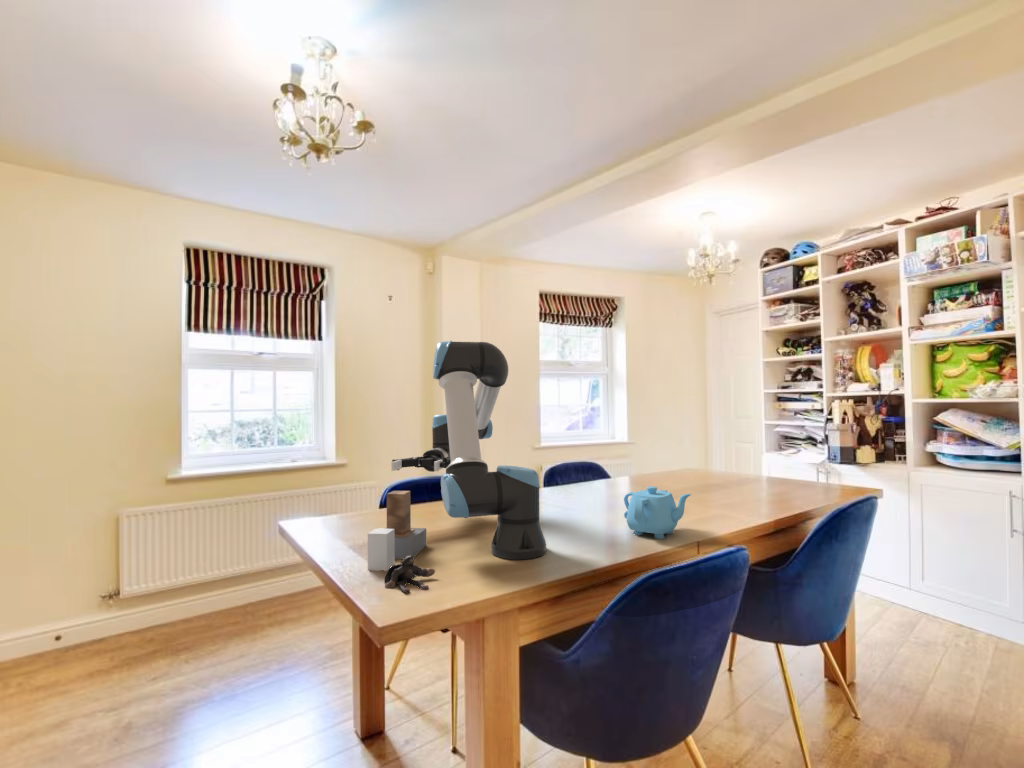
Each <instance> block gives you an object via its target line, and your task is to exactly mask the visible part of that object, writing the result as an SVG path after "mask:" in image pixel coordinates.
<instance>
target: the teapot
mask: <svg viewBox="0 0 1024 768" xmlns="http://www.w3.org/2000/svg"><path fill="white" fill-rule="evenodd" d="M691 495H693V493H686V494H685V493H684V494H682V495H680V497H679V498H678V503H677V505H676V502H675V498H674V496H673V493H671V492H670V491H668V490H664V489H660V490H658V486H651V485H650V486H647V487H646V489H642V490H638V491H635V492H634V491H631V492H628V493H626V494H625V495H624V496H623V502H624V505H625V508H626V510H625V512H624V515H623V516H624V518H625V519H626V523H627V526H628V528H629V529H630V530H632V531H633V533H632V535H633V534H635V535H634V536H642V535H643V534H644V533H648V534H649V533H650V534H654V539H657V540H663V539H665V535H664V534H667V535H670V534H674V533H673V531H674V530H675V529H676V527H677V526H678V523H679V521H680V520H681V519H682V518H683V516H684V513H685V505H686V500H687V499H688V497H690V496H691ZM630 496H631V497H630ZM629 497H630V500H629Z"/></svg>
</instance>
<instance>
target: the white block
mask: <svg viewBox="0 0 1024 768" xmlns="http://www.w3.org/2000/svg"><path fill="white" fill-rule="evenodd" d="M395 559H396V558H395V529H385V528H384V527H383V528H381V527H379V528H377V527H376V528H374V529H373V530H371V531H369V532H367V570H368V571H380V570H384V572H386V571H387V572H388V570H389V568H390V567H391V566H393V565H396V564H395V562H396V561H395Z"/></svg>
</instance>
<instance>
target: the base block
mask: <svg viewBox="0 0 1024 768" xmlns="http://www.w3.org/2000/svg"><path fill="white" fill-rule="evenodd" d="M384 529H387V526H386V527H384ZM425 546H426V547H427V528H426V527H411V530H410V531H409V532H407V533H406V534H404V535H397V534H395V559H402V558H405V557H406V556H413V557H416V554H417V555H418V554H419V553H420V552H421V551H422V550H423V549H424V548H426V547H425Z"/></svg>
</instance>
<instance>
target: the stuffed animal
mask: <svg viewBox="0 0 1024 768" xmlns="http://www.w3.org/2000/svg"><path fill="white" fill-rule="evenodd" d="M414 557H415V556H414ZM414 557H413V556H406V557H405V558H404V559H403V560H402V561H401V563H398V564H394V565H393V566H392V567H391V568H389V569H388V570H387V572H386V574H385V575H384V584H385V583H386V584H385V586H384V588H385V589H394V588H395V587H398V588H399V589H398V590H399V591H401V593H405V594H408V593H410V591H411V589H410V588H408V587H407V586H406V585H407V584H408V583H410V584H409V585H411V584H413V585H412V586H415V585H416V587H417V586H418V587H419V588H418V587H417V588H418V589H420V588H422V589H421V590H428V589H429V585H428V584H426V585H425V584H424V583H423V582H422V581H421V580H415V579H413V578H415V577H416V576H417V577H418V578H419V577H420V578H422V577H423V578H429V577H431V576H433V575H435V573H436V570H435V568H432V567H431V568H430V567H429V568H422V567H421V566H418V565H415V558H414ZM415 575H416V576H415ZM414 576H415V577H414ZM412 577H413V578H412ZM406 583H407V584H406ZM405 584H406V585H405ZM427 588H428V589H427ZM407 592H408V593H407Z"/></svg>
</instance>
